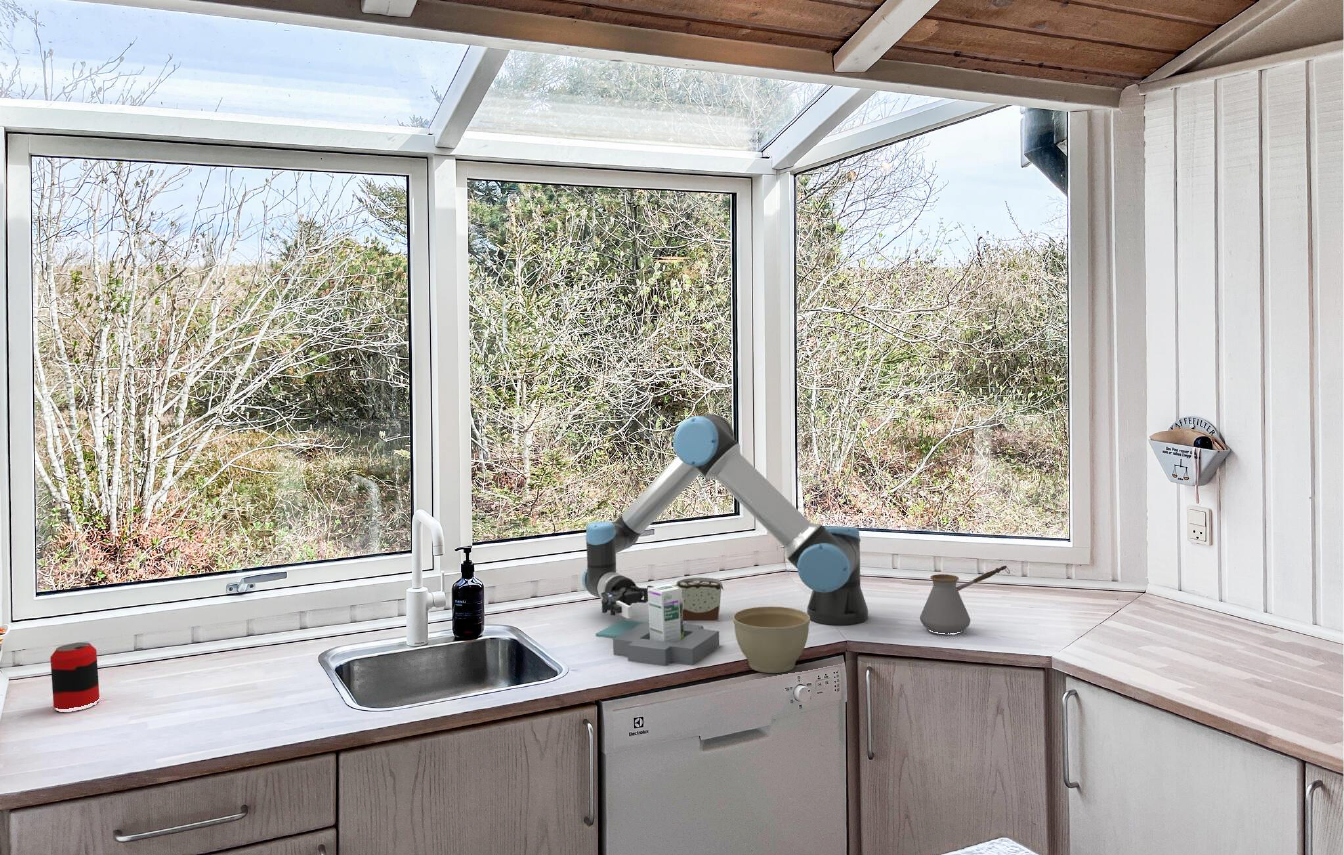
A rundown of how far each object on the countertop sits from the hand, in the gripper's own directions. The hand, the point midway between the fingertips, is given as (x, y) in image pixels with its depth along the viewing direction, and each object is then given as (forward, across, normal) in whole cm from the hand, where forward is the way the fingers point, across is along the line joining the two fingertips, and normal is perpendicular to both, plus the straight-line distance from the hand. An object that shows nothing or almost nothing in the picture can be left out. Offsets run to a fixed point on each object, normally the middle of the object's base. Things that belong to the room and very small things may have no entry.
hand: (656, 608), depth 204 cm
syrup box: (+4, 0, -9) cm, 10 cm away
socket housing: (+4, 0, -9) cm, 10 cm away
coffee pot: (+29, -67, -9) cm, 74 cm away
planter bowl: (+26, -14, -9) cm, 31 cm away
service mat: (-14, 0, -9) cm, 17 cm away
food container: (-15, -20, -9) cm, 27 cm away
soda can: (-29, +114, -9) cm, 118 cm away
